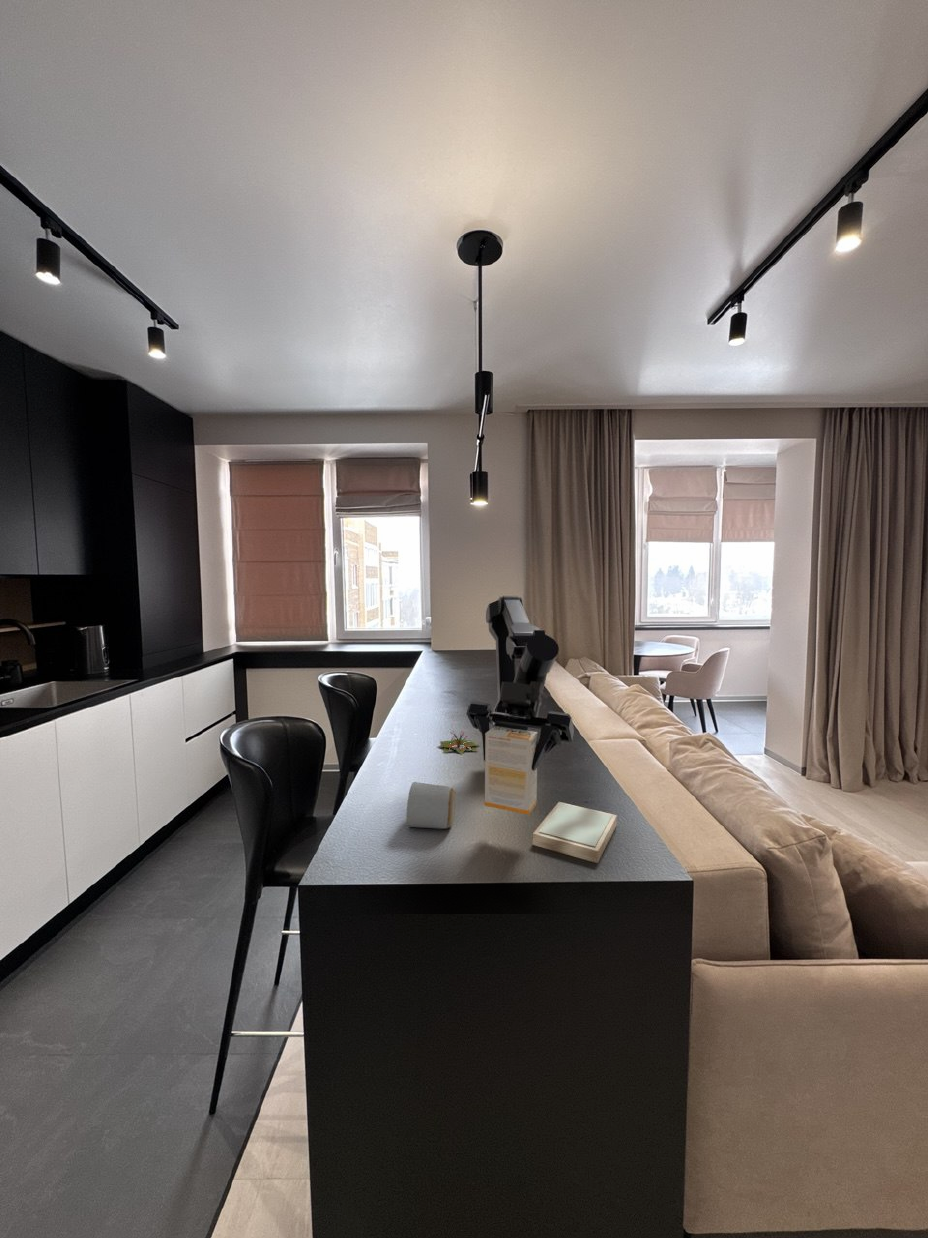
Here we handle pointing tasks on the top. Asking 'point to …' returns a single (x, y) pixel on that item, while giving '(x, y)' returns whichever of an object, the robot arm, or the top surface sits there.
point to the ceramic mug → (430, 806)
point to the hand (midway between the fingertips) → (508, 765)
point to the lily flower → (458, 743)
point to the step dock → (576, 831)
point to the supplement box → (510, 769)
